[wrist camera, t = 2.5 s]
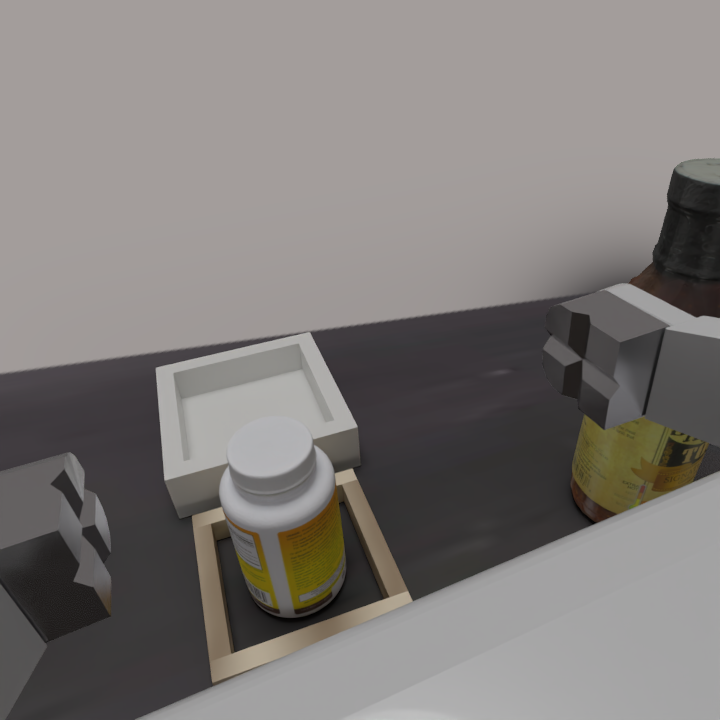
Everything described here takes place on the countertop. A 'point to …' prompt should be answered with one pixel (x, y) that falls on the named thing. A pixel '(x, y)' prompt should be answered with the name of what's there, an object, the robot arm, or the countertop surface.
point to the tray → (245, 412)
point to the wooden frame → (236, 663)
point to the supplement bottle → (284, 516)
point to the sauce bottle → (690, 294)
